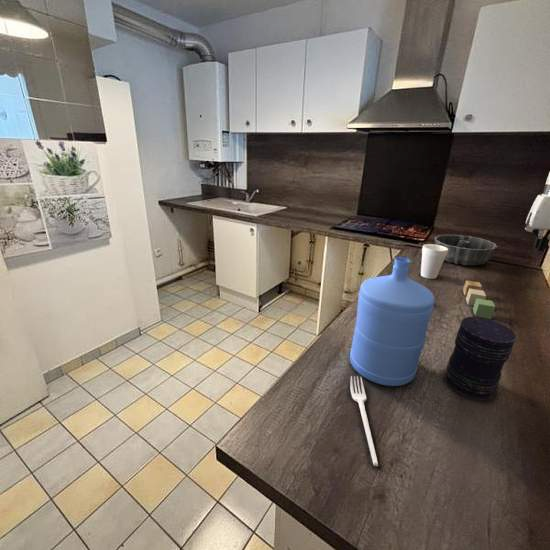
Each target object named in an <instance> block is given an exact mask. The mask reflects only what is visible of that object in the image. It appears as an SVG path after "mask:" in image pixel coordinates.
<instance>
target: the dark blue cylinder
mask: <svg viewBox="0 0 550 550" xmlns="http://www.w3.org/2000/svg"><path fill="white" fill-rule="evenodd" d="M516 340H517V335H516V333H515V332H514V331H513V329H511V328H510V327H508V326H507V325H505V324H503V323H501V322H498V321H496V320H493V319H488V318H483V317H478V316H467V317H464V318H462V319H461V321H460V326H459V328H458V330H457V333H456V337H455V338H454V348H453V351H452V353H451V354H450V355H449V358H448V362H447V364H446V371H445V373H444V380H445V382H446V383H447V384H448V386H449V387H450V388H451V389H452V390H454V391H455V392H457V393H458V394H460V395H462V396H465V397H467V398H471V399H474V400H480V401H483V400H484V401H485V400H488V399H491V398H492V397H493V396H494V393H495V390H496V388H497V387H498V386H499V383H500V380H501V378H502V370H503V367H504V365H505V363H507V361H508V360H509V358H510V355H511V354H512V353H511V352H512V351H513V346H514V343H515V341H516Z"/></svg>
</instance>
